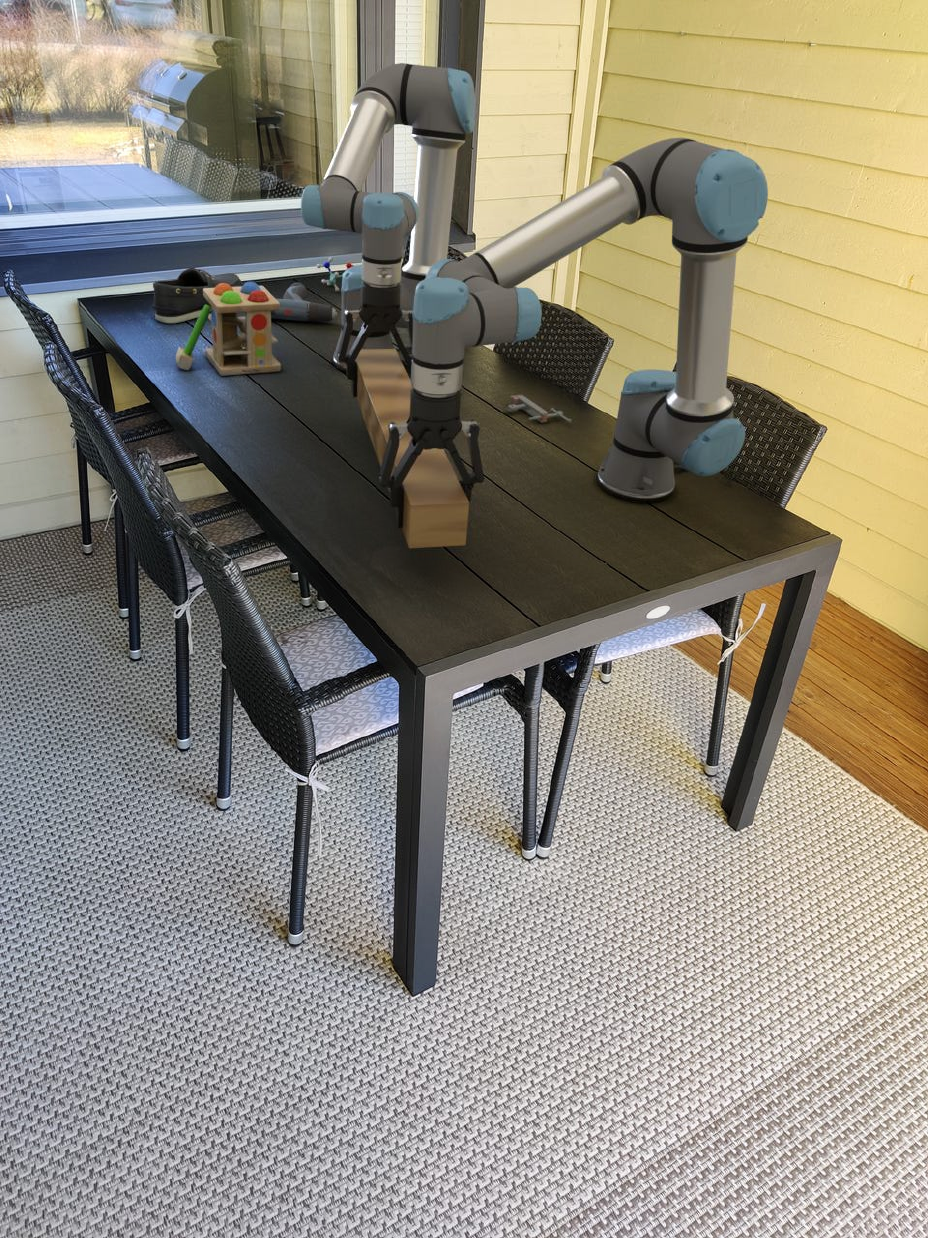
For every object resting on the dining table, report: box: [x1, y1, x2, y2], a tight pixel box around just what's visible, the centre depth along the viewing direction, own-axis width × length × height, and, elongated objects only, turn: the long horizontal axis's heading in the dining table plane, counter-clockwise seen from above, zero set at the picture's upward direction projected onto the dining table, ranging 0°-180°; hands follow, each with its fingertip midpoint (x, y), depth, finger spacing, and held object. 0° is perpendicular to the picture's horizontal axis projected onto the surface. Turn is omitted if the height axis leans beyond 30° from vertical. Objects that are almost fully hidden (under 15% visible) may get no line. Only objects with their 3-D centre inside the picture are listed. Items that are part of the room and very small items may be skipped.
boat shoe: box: [152, 267, 243, 324], centre depth 261 cm, size 13×33×10 cm, turn 147°
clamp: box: [506, 394, 572, 424], centre depth 219 cm, size 15×2×10 cm
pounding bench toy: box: [174, 281, 282, 377], centre depth 225 cm, size 23×14×18 cm, turn 116°
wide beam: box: [355, 348, 470, 549], centre depth 177 cm, size 67×9×8 cm, turn 13°
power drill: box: [271, 282, 338, 322], centre depth 265 cm, size 5×19×20 cm
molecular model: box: [316, 256, 358, 293], centre depth 287 cm, size 12×10×10 cm
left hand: (378, 393), depth 200 cm, fingers closed on wide beam, 9 cm apart
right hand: (429, 522), depth 157 cm, fingers closed on wide beam, 9 cm apart
